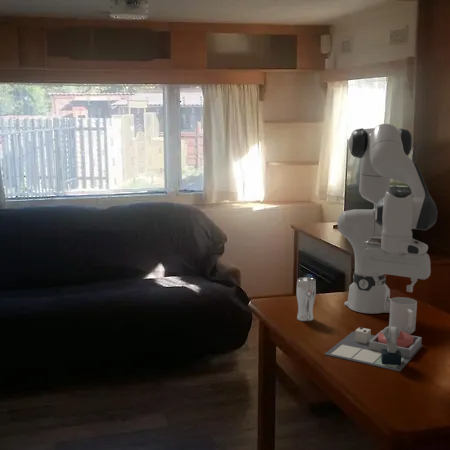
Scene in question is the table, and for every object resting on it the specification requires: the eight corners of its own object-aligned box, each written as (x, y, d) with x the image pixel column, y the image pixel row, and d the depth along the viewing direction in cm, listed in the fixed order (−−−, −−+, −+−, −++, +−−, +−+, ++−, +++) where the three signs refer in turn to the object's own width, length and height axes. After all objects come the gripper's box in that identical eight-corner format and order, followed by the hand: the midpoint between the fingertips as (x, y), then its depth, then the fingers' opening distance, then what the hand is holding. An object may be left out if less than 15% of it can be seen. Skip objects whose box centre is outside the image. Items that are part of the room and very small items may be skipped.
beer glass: (314, 322, 228) (315, 282, 226) (294, 321, 230) (296, 281, 227) (315, 316, 235) (316, 277, 232) (296, 315, 236) (297, 276, 234)
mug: (385, 327, 224) (386, 297, 222) (409, 326, 224) (411, 296, 222) (397, 339, 212) (398, 307, 210) (422, 338, 213) (424, 307, 211)
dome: (384, 337, 211) (384, 321, 210) (417, 343, 205) (418, 327, 204) (373, 347, 202) (374, 330, 201) (407, 354, 196) (408, 337, 195)
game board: (352, 332, 218) (353, 319, 218) (422, 345, 206) (423, 332, 205) (324, 354, 198) (324, 341, 197) (399, 371, 185) (400, 357, 184)
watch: (398, 357, 195) (400, 323, 193) (401, 367, 187) (403, 332, 185) (380, 356, 196) (382, 322, 194) (382, 366, 188) (383, 331, 186)
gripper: (358, 241, 189) (356, 286, 191) (428, 250, 178) (424, 297, 181) (366, 238, 194) (364, 281, 197) (433, 246, 184) (430, 291, 186)
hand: (393, 289), depth 189 cm, fingers open, 8 cm apart
